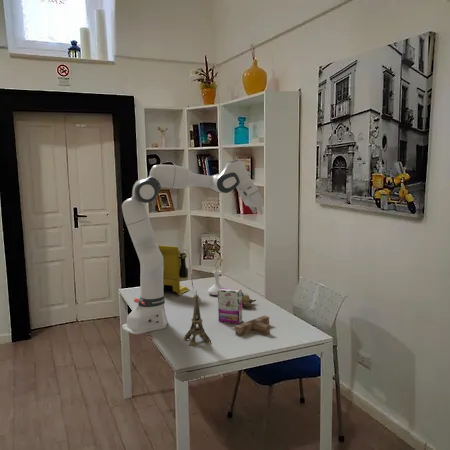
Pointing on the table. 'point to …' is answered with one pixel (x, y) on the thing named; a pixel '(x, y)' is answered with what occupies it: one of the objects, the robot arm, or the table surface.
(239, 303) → the candy bar box
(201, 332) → the eiffel tower
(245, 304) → the ceramic sculpture
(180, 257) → the vintage telephone
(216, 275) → the flower in vase
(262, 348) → the table surface
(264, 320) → the walnut T stop
